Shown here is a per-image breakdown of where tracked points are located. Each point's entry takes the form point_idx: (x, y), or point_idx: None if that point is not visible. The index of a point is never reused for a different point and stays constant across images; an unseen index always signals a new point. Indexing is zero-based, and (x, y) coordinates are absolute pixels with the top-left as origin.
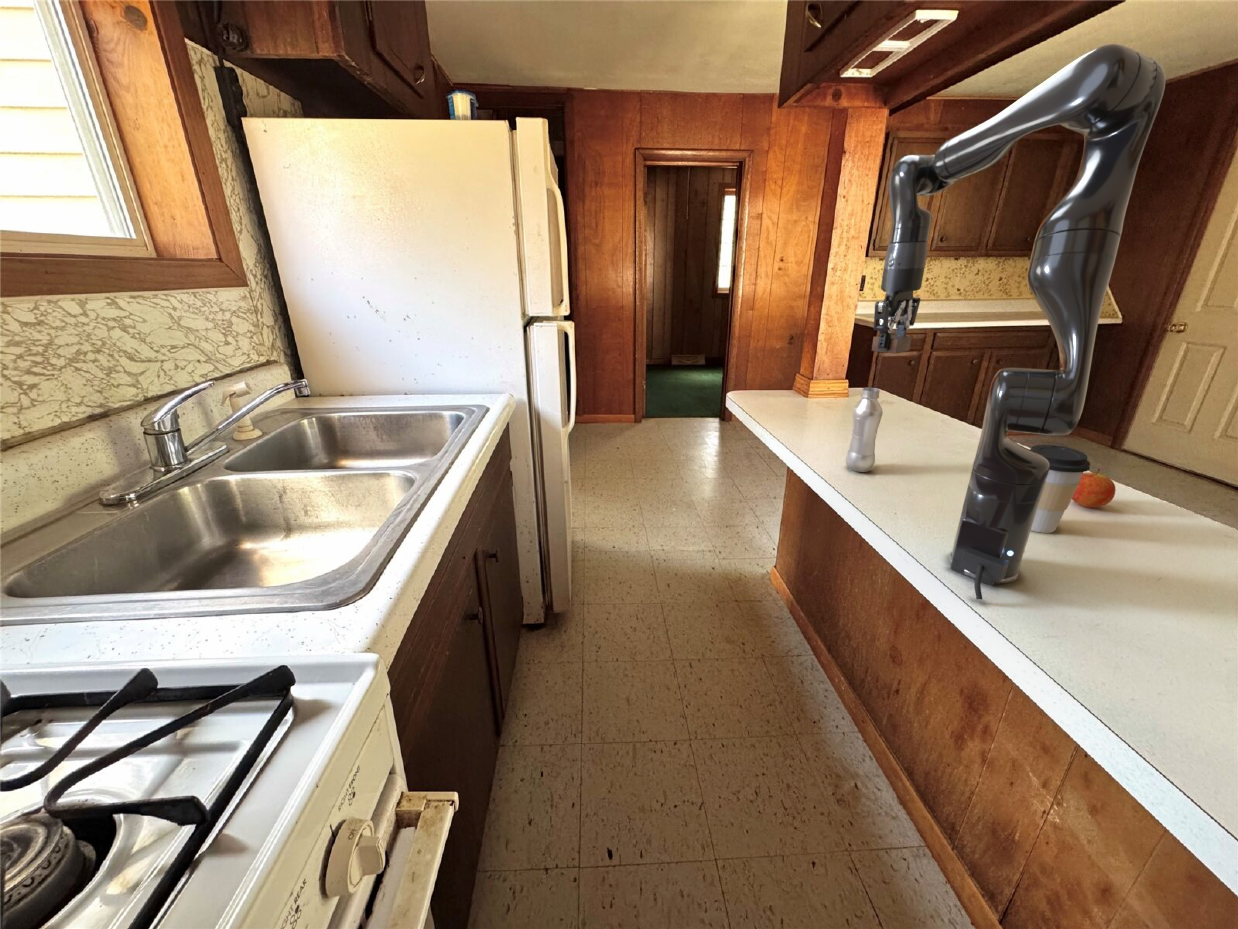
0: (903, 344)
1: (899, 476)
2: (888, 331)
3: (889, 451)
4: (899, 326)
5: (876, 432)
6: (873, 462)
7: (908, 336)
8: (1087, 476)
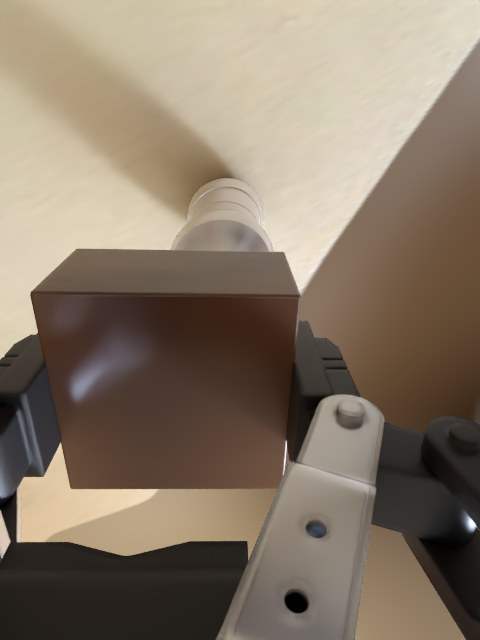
0: (184, 271)
1: (183, 111)
2: (375, 412)
3: (38, 228)
4: (12, 477)
5: (217, 203)
6: (222, 179)
7: (50, 317)
8: None
